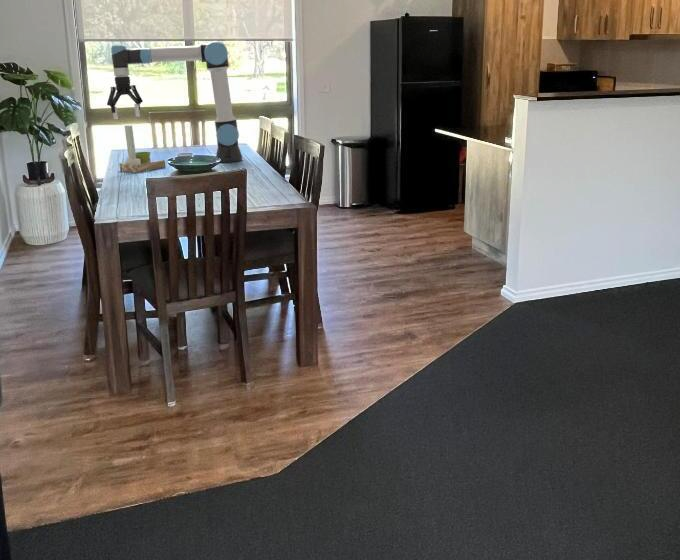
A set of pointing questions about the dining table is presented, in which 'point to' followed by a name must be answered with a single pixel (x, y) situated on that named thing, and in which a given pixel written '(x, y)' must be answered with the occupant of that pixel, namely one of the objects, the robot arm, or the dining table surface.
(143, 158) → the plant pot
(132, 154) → the puller
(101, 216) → the dining table surface
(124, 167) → the wooden tray
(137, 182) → the dining table surface
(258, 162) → the dining table surface
